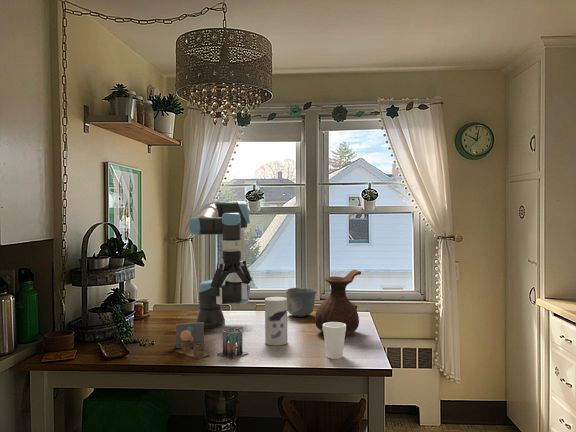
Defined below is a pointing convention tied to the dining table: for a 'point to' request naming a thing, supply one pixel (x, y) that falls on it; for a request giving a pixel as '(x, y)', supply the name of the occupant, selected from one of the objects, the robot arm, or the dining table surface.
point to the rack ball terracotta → (185, 335)
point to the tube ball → (230, 347)
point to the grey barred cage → (239, 351)
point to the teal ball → (233, 338)
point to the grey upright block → (195, 330)
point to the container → (276, 320)
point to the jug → (338, 305)
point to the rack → (192, 350)
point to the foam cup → (334, 339)
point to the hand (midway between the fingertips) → (232, 301)
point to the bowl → (300, 301)
